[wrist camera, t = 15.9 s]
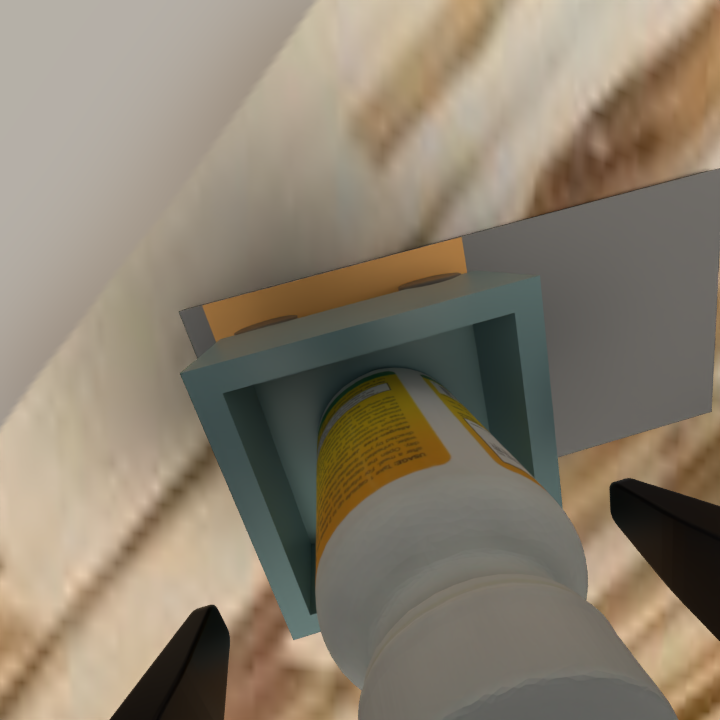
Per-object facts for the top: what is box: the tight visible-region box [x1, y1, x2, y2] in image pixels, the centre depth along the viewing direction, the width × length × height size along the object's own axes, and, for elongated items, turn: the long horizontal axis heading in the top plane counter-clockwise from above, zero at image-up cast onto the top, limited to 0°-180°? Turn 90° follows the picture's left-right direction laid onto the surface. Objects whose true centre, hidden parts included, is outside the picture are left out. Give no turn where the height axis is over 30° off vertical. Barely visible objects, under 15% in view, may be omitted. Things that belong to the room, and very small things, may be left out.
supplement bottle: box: [315, 368, 678, 720], centre depth 9 cm, size 5×5×10 cm
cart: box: [180, 271, 563, 640], centre depth 13 cm, size 10×10×6 cm
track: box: [179, 168, 720, 457], centre depth 17 cm, size 24×12×1 cm, turn 104°
